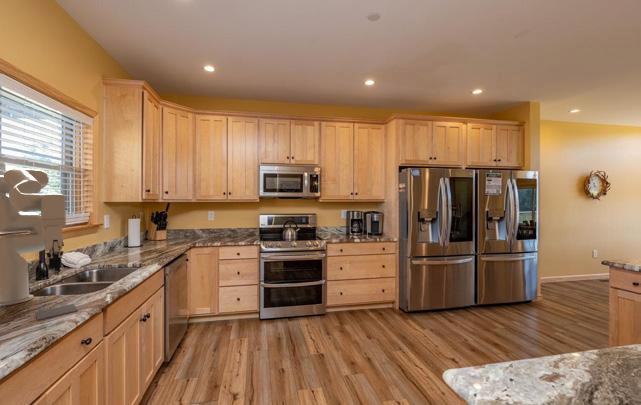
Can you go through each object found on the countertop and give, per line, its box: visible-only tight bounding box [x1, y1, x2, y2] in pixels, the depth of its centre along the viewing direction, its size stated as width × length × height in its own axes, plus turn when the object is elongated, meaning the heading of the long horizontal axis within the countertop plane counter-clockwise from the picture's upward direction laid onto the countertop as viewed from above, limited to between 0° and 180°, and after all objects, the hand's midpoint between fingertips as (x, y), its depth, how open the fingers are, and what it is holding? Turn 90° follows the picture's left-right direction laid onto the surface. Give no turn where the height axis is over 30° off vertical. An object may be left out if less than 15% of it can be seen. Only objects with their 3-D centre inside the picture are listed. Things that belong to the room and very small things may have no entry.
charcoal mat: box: [35, 303, 79, 322], centre depth 117 cm, size 12×12×1 cm
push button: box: [45, 249, 64, 276], centre depth 117 cm, size 7×5×10 cm
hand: (55, 266), depth 117 cm, fingers closed on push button, 4 cm apart
